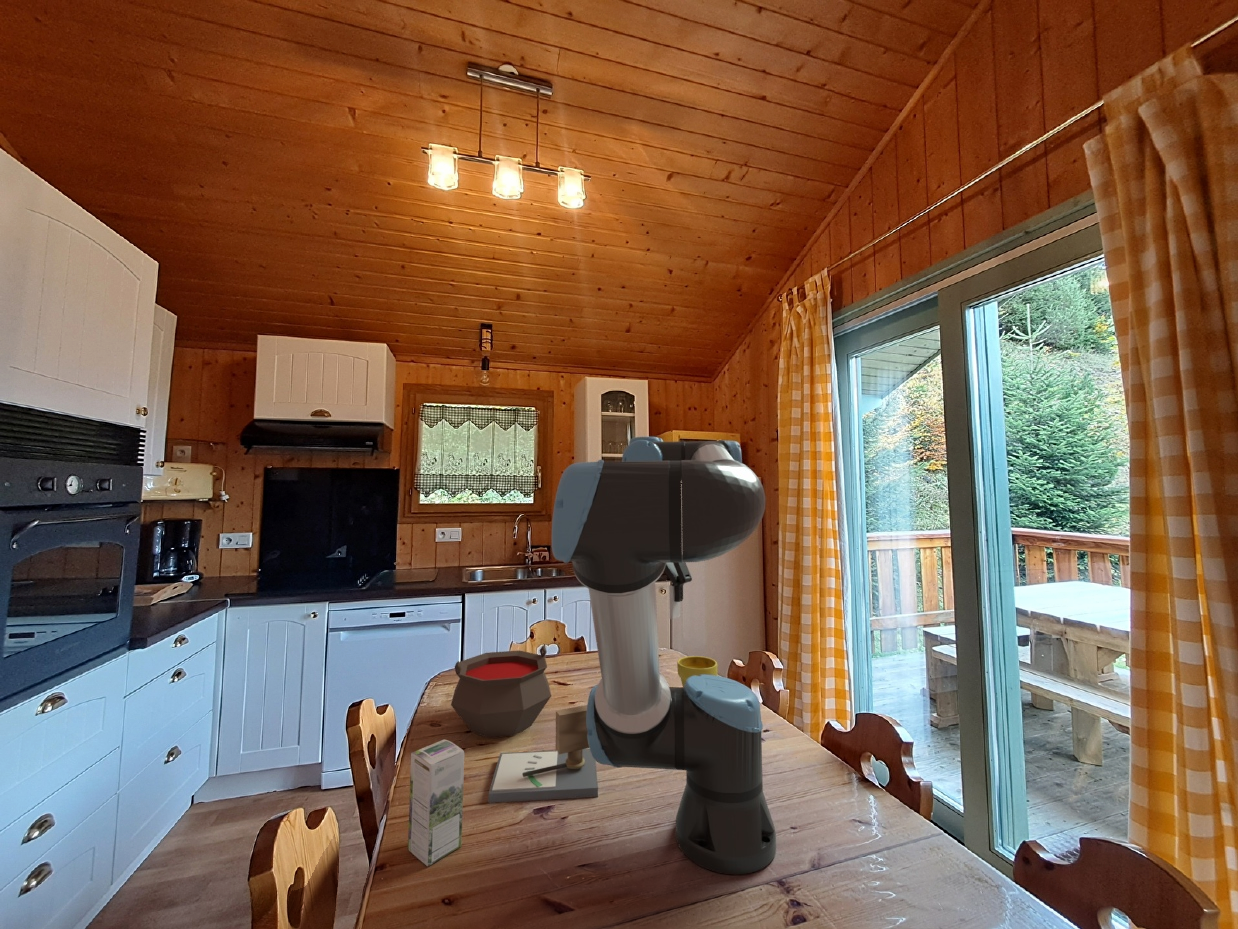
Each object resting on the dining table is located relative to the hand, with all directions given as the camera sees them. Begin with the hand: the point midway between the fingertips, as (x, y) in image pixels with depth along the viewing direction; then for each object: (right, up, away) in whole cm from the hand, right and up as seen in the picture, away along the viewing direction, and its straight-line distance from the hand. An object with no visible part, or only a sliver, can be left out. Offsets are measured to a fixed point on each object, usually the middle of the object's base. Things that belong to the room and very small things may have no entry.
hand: (647, 613), depth 105 cm
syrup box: (-34, -27, -29) cm, 52 cm away
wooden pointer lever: (-17, -26, -10) cm, 33 cm away
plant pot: (+15, -31, +26) cm, 43 cm away
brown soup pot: (-33, -30, +13) cm, 47 cm away
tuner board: (-20, -28, -10) cm, 36 cm away
